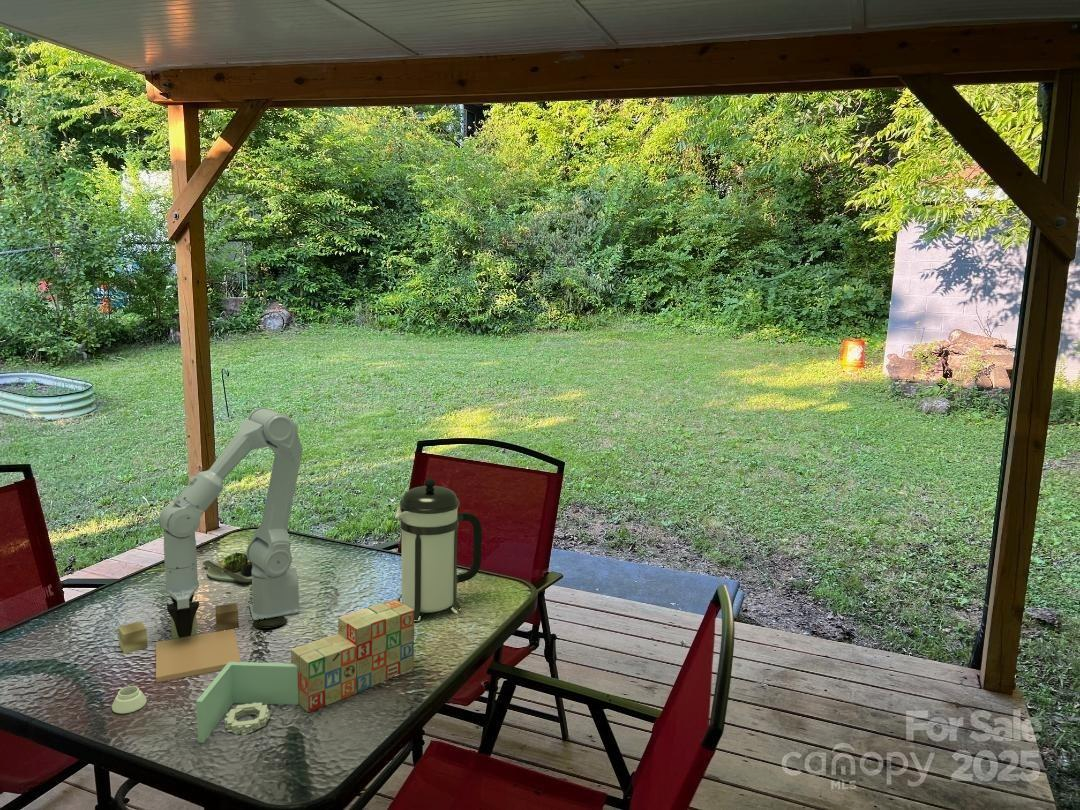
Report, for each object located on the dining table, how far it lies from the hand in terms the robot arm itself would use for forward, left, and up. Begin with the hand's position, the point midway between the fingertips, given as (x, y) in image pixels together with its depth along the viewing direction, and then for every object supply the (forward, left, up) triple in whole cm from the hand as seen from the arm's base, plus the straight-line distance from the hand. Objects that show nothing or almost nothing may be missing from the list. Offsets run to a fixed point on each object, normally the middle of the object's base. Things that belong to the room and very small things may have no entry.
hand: (184, 627), depth 146 cm
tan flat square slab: (-2, +10, -2) cm, 10 cm away
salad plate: (-15, -30, -2) cm, 34 cm away
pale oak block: (+9, +1, -2) cm, 9 cm away
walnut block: (-8, -1, -2) cm, 8 cm away
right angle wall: (-9, +36, -2) cm, 37 cm away
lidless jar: (+9, +23, -2) cm, 25 cm away
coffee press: (-50, +7, -2) cm, 51 cm away
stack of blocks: (-27, +31, -2) cm, 41 cm away
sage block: (0, 0, -2) cm, 2 cm away
